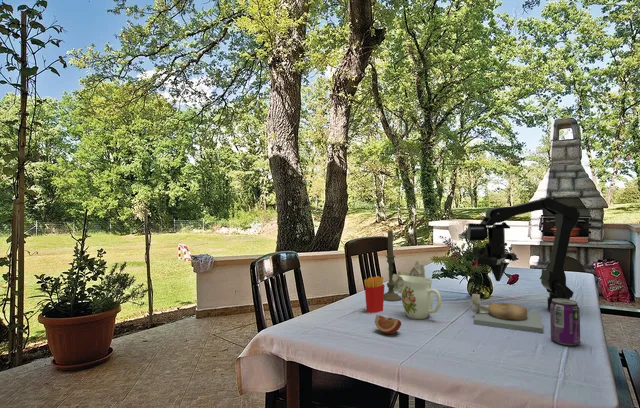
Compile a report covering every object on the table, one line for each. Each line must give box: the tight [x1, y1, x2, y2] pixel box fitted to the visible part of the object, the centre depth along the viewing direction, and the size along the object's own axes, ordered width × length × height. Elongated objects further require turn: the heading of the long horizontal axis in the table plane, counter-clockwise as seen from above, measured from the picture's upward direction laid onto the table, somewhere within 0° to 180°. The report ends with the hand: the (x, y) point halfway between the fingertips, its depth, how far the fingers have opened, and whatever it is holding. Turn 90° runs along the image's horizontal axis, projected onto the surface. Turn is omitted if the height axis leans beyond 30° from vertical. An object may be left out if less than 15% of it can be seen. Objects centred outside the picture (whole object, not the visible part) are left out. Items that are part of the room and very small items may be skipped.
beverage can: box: [549, 298, 581, 347], centre depth 104 cm, size 7×7×12 cm
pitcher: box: [399, 275, 442, 320], centre depth 130 cm, size 11×18×14 cm, turn 36°
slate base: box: [473, 310, 544, 334], centre depth 126 cm, size 21×20×2 cm
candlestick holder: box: [384, 229, 402, 302], centre depth 157 cm, size 9×9×30 cm
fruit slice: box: [374, 314, 402, 335], centre depth 114 cm, size 8×7×5 cm
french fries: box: [363, 275, 385, 314], centre depth 138 cm, size 9×4×13 cm, turn 127°
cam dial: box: [471, 293, 528, 320], centre depth 127 cm, size 17×12×6 cm
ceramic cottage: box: [392, 260, 427, 293], centre depth 174 cm, size 16×16×15 cm
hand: (497, 281), depth 139 cm, fingers closed
